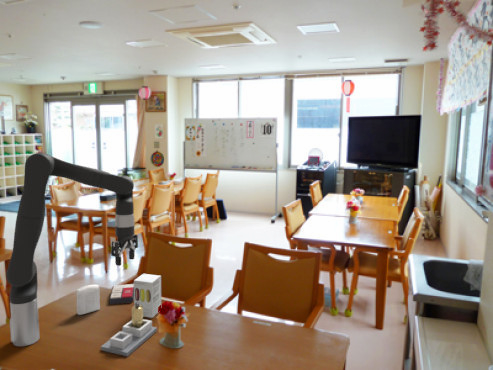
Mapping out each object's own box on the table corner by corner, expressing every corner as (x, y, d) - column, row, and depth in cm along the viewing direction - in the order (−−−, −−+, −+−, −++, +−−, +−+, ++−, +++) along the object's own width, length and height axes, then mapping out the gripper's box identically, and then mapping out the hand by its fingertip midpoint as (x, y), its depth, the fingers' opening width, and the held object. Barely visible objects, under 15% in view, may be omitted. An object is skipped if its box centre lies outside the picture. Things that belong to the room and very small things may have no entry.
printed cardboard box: (109, 297, 186) (112, 284, 200) (109, 306, 187) (113, 291, 201) (132, 296, 188) (134, 282, 203) (133, 304, 189) (135, 290, 203)
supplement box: (133, 315, 175) (132, 280, 173) (143, 306, 184) (142, 273, 182) (153, 318, 173) (152, 282, 171) (162, 309, 182) (161, 275, 180)
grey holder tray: (101, 350, 147) (100, 339, 147) (132, 325, 166) (132, 315, 166) (127, 356, 144) (127, 345, 143) (157, 330, 162) (156, 320, 162)
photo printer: (97, 306, 184) (96, 281, 182) (101, 309, 181) (100, 284, 179) (75, 313, 177) (74, 287, 175) (79, 316, 174) (78, 290, 172)
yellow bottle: (129, 332, 158) (129, 304, 156) (136, 326, 162) (135, 299, 160) (139, 334, 157) (138, 306, 155) (145, 329, 161) (144, 301, 159)
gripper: (128, 220, 168) (128, 256, 170) (105, 227, 154) (106, 266, 156) (142, 221, 165) (143, 258, 167) (121, 229, 152) (121, 268, 154)
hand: (125, 262), depth 162 cm, fingers open, 8 cm apart
